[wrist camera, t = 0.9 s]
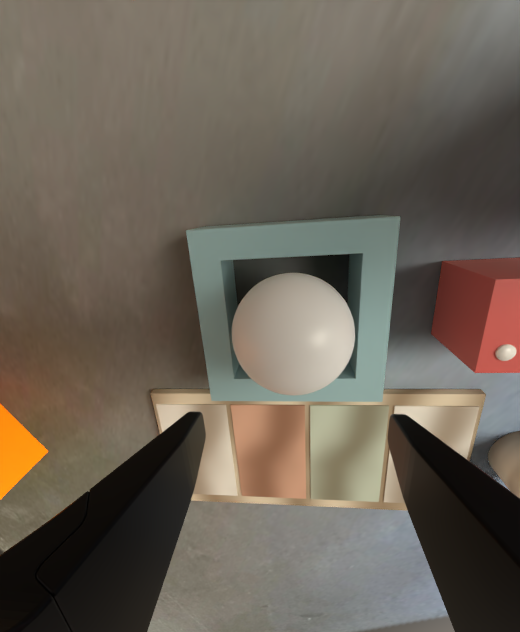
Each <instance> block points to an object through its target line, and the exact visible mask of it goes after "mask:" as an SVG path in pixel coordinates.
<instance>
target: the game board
mask: <svg viewBox="0 0 520 632" xmlns="http://www.w3.org/2000/svg"><path fill="white" fill-rule="evenodd" d="M485 396H486V394H485V393H484V392H483V391H482V390H481V389H384V391H383V401H382V402H314V401H211V394H210V389H154V390H153V391H152V392H151V398H152V402H153V406H154V410H155V415H156V419H157V423H158V427H159V432H160V434H161V433H162V432H163V431H165V430H166V429H167V428H168V427H170V426H171V425H172V424H174V423H175V422H176V421H177V420H179V419H180V418H181V417H182V416H184V415H185V414H186V413H188V412H191V411H195V412H201V413H202V414H203V419H204V425H205V431H206V439H205V444H204V449H203V453H202V458H201V462H200V467H199V471H198V476H197V480H196V484H195V489H194V492H193V495H192V498H191V500H194V501H215V502H237V503H258V504H280V505H302V506H323V507H345V508H367V509H388V510H407V507H406V505H405V502H404V499H403V496H402V492H401V489H400V485H399V482H398V478H397V475H396V471H395V467H394V464H393V460H392V456H391V453H390V449H389V445H388V439H387V436H388V427H389V419H390V416H391V415H392V414H405V415H407V416H409V417H410V418H412V419H413V420H414V421H416V422H417V423H418V424H420V425H421V426H422V427H424V428H425V429H427V430H428V431H429V432H431V433H432V434H433V435H435V436H436V437H437V438H439V439H440V440H441V441H443V442H444V443H445V444H447V445H448V446H450V447H451V448H452V449H454V450H455V451H456V452H458V453H459V454H460V455H462V456H463V457H464V458H466V459H467V460H469V461H470V457H471V453H472V449H473V445H474V441H475V437H476V433H477V429H478V425H479V421H480V417H481V413H482V408H483V404H484V400H485Z"/></svg>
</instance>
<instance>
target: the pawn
mask: <svg viewBox="0 0 520 632" xmlns="http://www.w3.org/2000/svg"><path fill="white" fill-rule="evenodd" d="M488 462H489V464H490V466H491V467H492V468H493V470H494V471H495V472H496V473H497V475H498V476H499V477H500V479H501V480H502V481H503V482H504V484H505V485H506V486H507V487H508V489H509V490H510V491H511V492H512V493H513V494H515V495H516V496H517V497H519V498H520V431H516V432H512V433H509V434H507V435H505V436H503V437H501V438H500V439H498V440H497V441H496V442H495V443H494V444H493V445H492V446H491V448H490V450H489V452H488Z"/></svg>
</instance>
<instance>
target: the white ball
mask: <svg viewBox="0 0 520 632" xmlns="http://www.w3.org/2000/svg"><path fill="white" fill-rule="evenodd" d="M354 342H355V326H354V320H353V317H352V314H351V311H350V309H349V307H348V305H347V303H346V302H345V300H344V299H343V297H342V296H341V295H340V294H339V293H338V292H337V291H336V289H335V288H333V287H332V286H331V285H330V284H328V283H327V282H325V281H323V280H322V279H319V278H317V277H315V276H311V275H308V274H303V273H282V274H278V275H274V276H272V277H269V278H266V279H265V280H263V281H261V282H259V283H258V284H257V285H255V286H254V287H253V288H252V289H251V290H250V291H249V292H248V293H247V294H246V295H245V296H244V298H243V299H242V300H241V302H240V304H239V305H238V308H237V310H236V312H235V315H234V319H233V323H232V343H233V348H234V352H235V355H236V357H237V360H238V362H239V364H240V365H241V367H242V368H243V370H244V371H245V372H246V373H247V375H248V376H249V377H250V378H251V379H252V380H253V381H255V382H256V383H257V384H259V385H260V386H262V387H264V388H265V389H268V390H270V391H272V392H275V393H279V394H284V395H304V394H309V393H312V392H315V391H318V390H320V389H322V388H324V387H326V386H327V385H329V384H330V383H332V382H333V381H334V380H335V379H336V378H337V377H338V376H339V375H340V374H341V372H342V371H343V370H344V369H345V367H346V365H347V364H348V362H349V360H350V357H351V355H352V351H353V348H354Z"/></svg>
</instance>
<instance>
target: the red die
mask: <svg viewBox="0 0 520 632" xmlns="http://www.w3.org/2000/svg"><path fill="white" fill-rule="evenodd" d="M431 334H432V335H433V336H434V337H435V338H436V339H437V340H438V341H440V342H441V343H442V344H443V345H444V346H445V347H446V348H448V349H449V350H450V351H451V352H452V353H453V354H454V355H455V356H457V357H458V358H459V359H460V360H461V361H462V362H463V363H464V364H466V365H467V366H468V367H469V368H470V369H471V370H472V371H473V372H475V373H520V257H519V258H498V259H477V260H456V261H442V266H441V272H440V279H439V285H438V292H437V298H436V305H435V311H434V318H433V324H432V331H431Z"/></svg>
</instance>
